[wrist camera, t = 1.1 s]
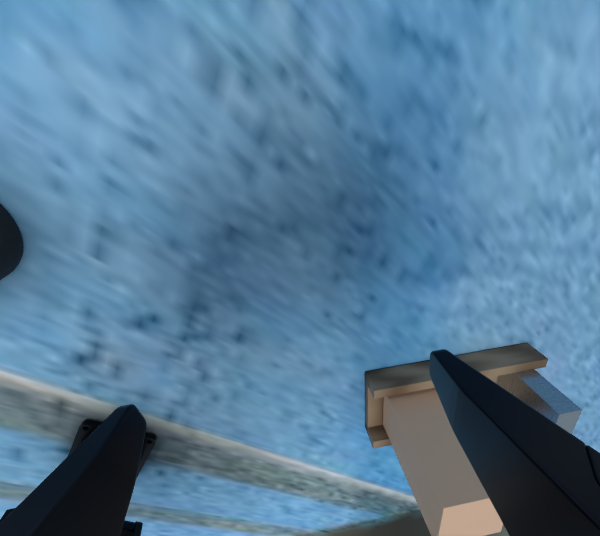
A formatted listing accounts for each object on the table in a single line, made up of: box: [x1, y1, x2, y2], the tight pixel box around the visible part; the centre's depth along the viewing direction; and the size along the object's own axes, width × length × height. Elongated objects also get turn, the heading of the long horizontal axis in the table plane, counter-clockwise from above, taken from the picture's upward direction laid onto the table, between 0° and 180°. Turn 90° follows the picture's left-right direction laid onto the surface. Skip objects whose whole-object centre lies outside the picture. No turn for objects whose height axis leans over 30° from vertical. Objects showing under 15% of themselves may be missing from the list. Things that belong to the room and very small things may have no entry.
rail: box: [365, 343, 548, 448], centre depth 30 cm, size 17×8×2 cm, turn 96°
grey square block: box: [496, 369, 582, 434], centre depth 28 cm, size 2×6×7 cm, turn 6°
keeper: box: [383, 388, 503, 536], centre depth 25 cm, size 5×5×10 cm
